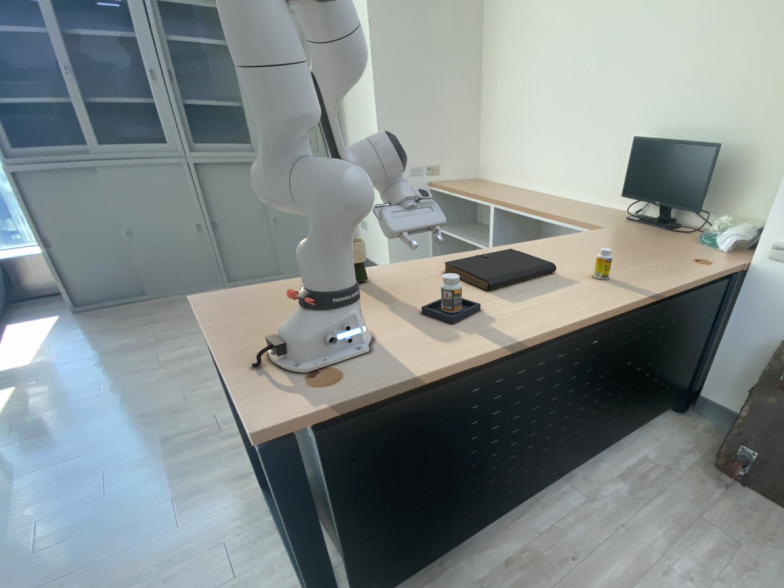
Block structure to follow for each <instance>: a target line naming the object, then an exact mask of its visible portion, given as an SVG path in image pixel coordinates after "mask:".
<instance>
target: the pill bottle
mask: <svg viewBox="0 0 784 588" xmlns="http://www.w3.org/2000/svg"><path fill="white" fill-rule="evenodd" d="M441 278H442V283H441V285H440V299H441V307H442V310H443V311H444V312H446V313H457V312H460V311H461V309H462V298H463V286H462V284H461V282H460V280H461V279H460V276H459V275H458V274H454V273H444V274H442V276H441Z"/></svg>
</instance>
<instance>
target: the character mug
mask: <svg viewBox="0 0 784 588" xmlns="http://www.w3.org/2000/svg"><path fill="white" fill-rule="evenodd" d="M353 260H354V269H355V277H356V280H357V281H358V283H362V282H364V281H367V280H368V279H369V277H368V273H367V269H366V265H365V262H366V261H367V249H366V241H365V239H363V238H361V237H354V240H353Z"/></svg>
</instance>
